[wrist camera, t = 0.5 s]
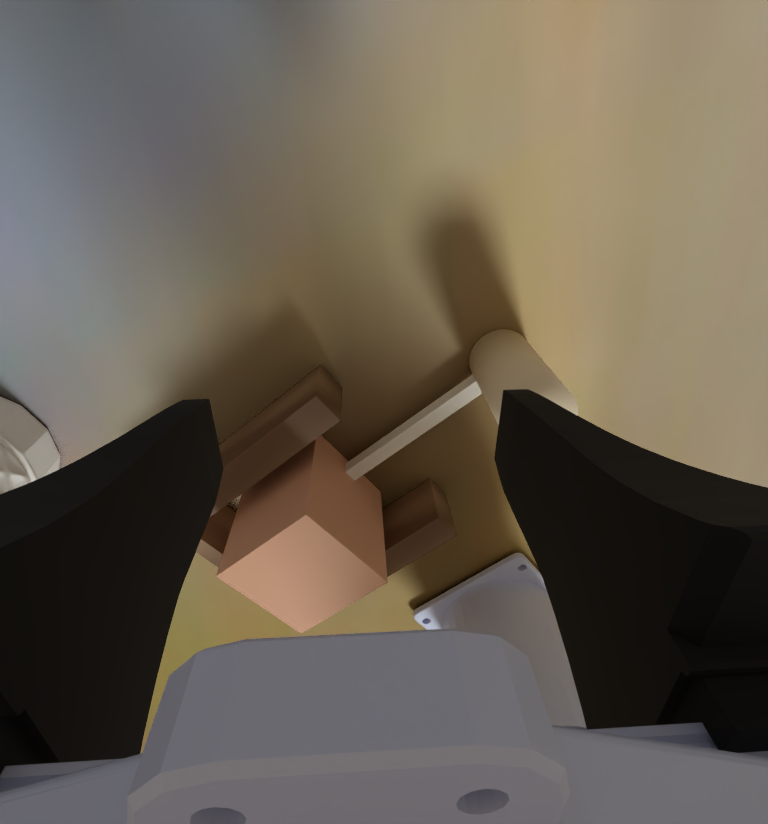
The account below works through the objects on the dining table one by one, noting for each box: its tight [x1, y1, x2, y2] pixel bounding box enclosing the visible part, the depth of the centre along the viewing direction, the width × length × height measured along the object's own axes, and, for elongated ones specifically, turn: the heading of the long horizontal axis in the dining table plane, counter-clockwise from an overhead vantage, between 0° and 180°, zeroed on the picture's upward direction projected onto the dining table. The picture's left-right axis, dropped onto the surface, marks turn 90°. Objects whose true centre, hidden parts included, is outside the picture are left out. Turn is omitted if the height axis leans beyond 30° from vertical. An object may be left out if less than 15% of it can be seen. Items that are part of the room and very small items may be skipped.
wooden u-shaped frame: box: [196, 366, 456, 577], centre depth 24 cm, size 10×10×3 cm
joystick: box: [216, 329, 578, 633], centre depth 21 cm, size 5×15×6 cm, turn 129°
